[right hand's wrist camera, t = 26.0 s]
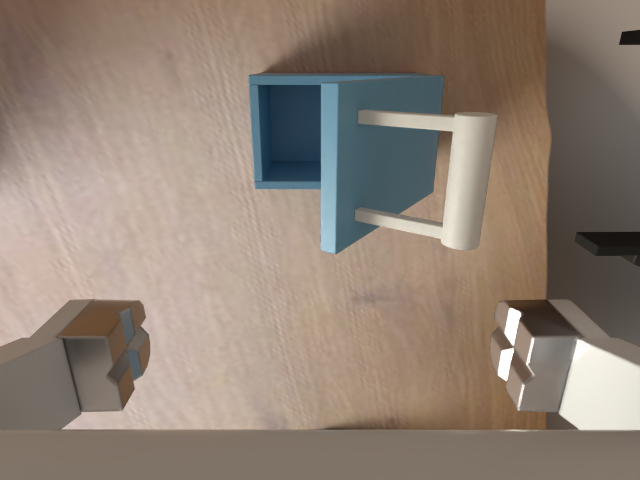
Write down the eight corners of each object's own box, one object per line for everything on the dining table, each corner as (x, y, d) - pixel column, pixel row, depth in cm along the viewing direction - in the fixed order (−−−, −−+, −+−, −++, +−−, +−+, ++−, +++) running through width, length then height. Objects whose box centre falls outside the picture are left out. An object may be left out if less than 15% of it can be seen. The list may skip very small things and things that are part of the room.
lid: (320, 250, 26) (461, 287, 22) (320, 82, 22) (488, 87, 18) (421, 190, 38) (524, 206, 34) (431, 75, 35) (547, 77, 30)
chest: (266, 166, 47) (254, 189, 38) (262, 72, 43) (248, 74, 35) (406, 166, 47) (425, 189, 38) (413, 72, 43) (436, 75, 35)
